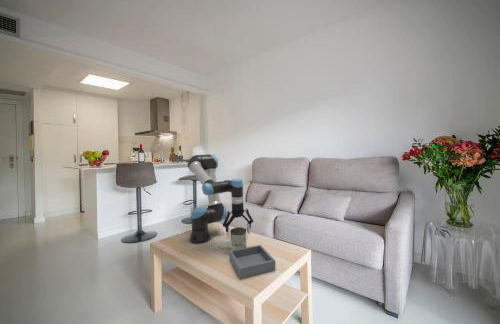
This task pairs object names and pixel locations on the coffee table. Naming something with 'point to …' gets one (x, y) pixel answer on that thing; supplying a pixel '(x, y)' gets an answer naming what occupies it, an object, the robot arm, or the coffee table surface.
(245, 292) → the coffee table surface
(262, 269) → the bin
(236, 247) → the coffee can
